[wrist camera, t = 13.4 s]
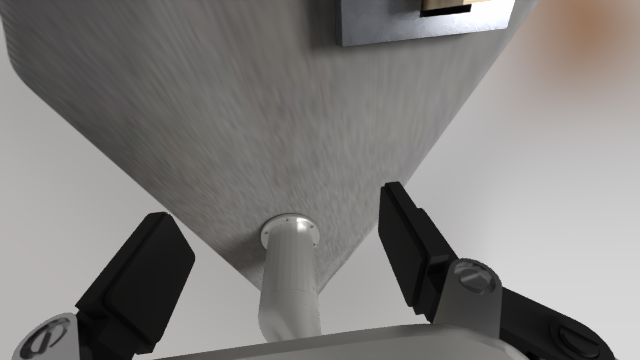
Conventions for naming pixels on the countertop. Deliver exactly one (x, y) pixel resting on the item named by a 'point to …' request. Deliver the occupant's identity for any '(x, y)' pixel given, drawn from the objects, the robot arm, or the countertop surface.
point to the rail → (412, 20)
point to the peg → (446, 3)
